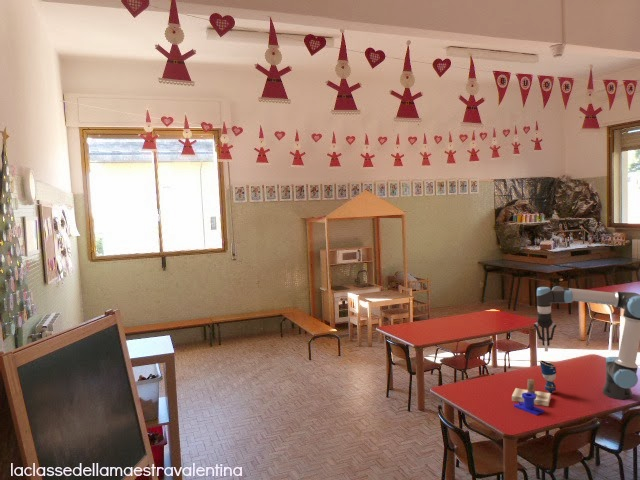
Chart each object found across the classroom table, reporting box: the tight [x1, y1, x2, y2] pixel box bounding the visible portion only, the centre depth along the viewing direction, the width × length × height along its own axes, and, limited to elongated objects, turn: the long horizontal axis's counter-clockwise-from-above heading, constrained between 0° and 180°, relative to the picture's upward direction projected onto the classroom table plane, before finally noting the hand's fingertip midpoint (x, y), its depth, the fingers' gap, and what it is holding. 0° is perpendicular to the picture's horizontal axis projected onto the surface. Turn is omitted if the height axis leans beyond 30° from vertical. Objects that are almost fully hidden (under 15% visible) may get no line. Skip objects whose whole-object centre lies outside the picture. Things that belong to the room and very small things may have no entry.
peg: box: [526, 378, 536, 394], centre depth 289 cm, size 4×4×12 cm
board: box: [511, 387, 552, 407], centre depth 289 cm, size 20×14×3 cm
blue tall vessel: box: [539, 360, 557, 394], centre depth 298 cm, size 13×9×20 cm
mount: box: [513, 393, 546, 416], centre depth 275 cm, size 15×8×9 cm, turn 31°
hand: (546, 350), depth 290 cm, fingers closed
